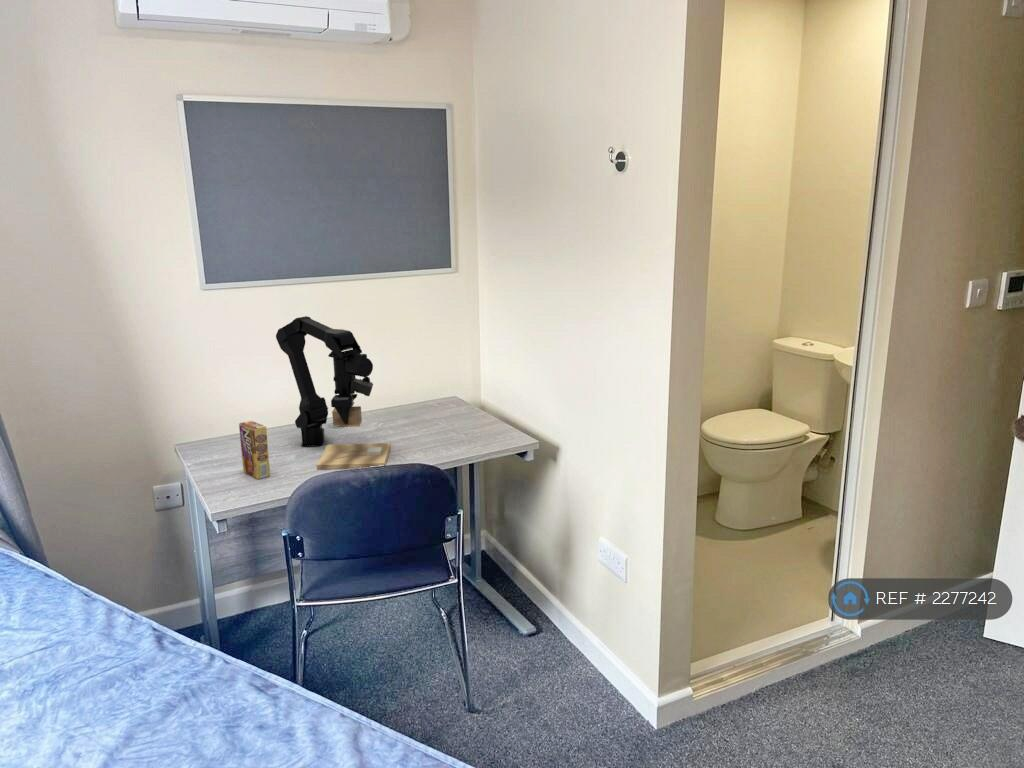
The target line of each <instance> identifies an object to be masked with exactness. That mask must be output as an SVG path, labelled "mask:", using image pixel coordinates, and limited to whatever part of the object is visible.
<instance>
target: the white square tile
mask: <svg viewBox="0 0 1024 768" xmlns="http://www.w3.org/2000/svg"><path fill="white" fill-rule="evenodd" d="M381 451H382V447H369V448H368V450H367V455H380V454H381Z"/></svg>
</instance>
